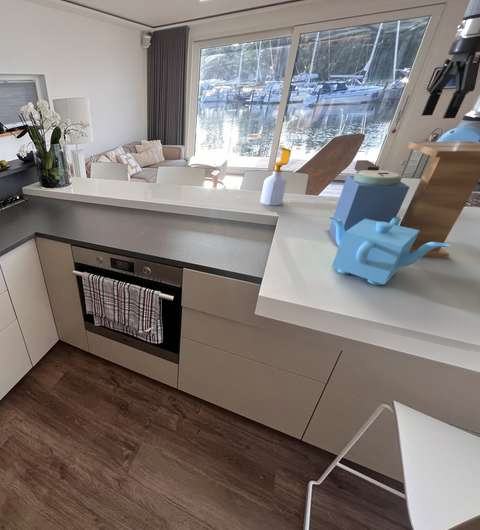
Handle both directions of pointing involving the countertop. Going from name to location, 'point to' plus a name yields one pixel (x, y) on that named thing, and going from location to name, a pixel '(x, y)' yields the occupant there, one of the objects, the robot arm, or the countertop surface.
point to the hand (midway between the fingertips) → (436, 116)
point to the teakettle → (377, 249)
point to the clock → (374, 174)
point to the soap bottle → (275, 182)
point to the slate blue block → (367, 203)
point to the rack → (442, 191)
